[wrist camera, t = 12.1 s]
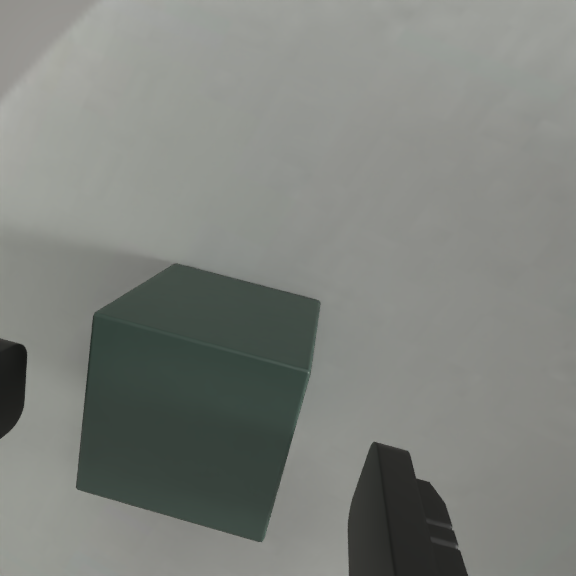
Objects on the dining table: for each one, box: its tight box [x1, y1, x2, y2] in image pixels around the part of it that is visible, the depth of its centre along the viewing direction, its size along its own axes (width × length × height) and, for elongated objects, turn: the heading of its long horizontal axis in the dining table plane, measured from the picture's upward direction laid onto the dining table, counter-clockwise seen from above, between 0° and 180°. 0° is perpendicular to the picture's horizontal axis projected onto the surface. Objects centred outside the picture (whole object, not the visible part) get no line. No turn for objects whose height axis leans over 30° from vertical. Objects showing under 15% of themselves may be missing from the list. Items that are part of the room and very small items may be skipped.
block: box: [76, 264, 320, 542], centre depth 11 cm, size 4×4×4 cm
